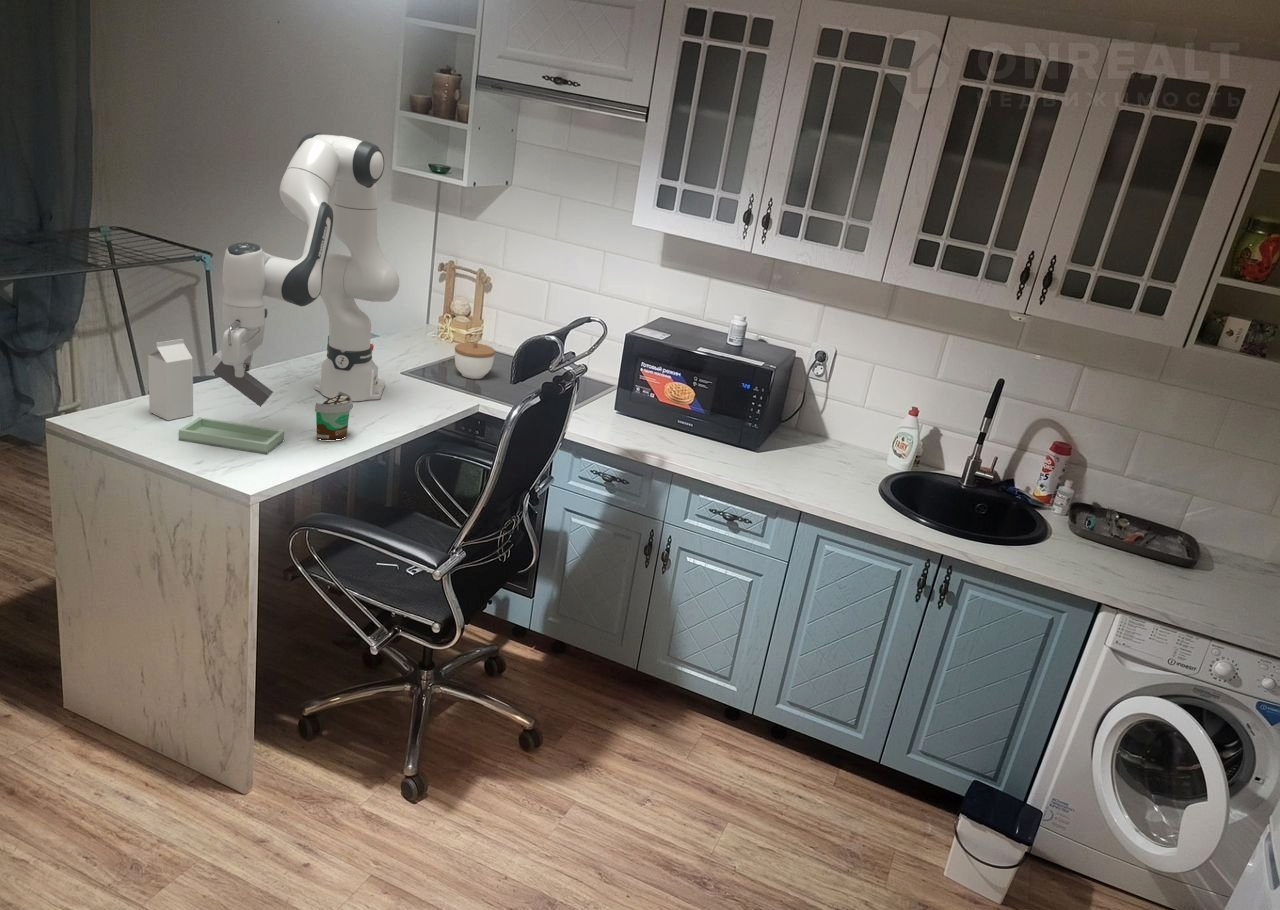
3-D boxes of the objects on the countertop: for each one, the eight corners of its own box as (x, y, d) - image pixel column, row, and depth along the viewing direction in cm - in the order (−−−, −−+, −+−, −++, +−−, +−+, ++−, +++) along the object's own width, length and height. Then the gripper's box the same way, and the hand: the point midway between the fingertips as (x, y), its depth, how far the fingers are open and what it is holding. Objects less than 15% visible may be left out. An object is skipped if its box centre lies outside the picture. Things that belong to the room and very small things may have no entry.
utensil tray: (199, 426, 233) (199, 417, 232) (284, 440, 233) (284, 430, 232) (178, 440, 224) (178, 430, 223) (267, 454, 224) (267, 444, 223)
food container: (336, 447, 234) (338, 408, 231) (313, 441, 235) (315, 403, 232) (360, 432, 246) (362, 395, 242) (338, 427, 247) (339, 390, 243)
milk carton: (193, 415, 239) (192, 342, 233) (167, 421, 233) (165, 346, 227) (175, 407, 242) (174, 335, 236) (149, 413, 236) (147, 339, 230)
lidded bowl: (445, 371, 306) (447, 337, 303) (478, 368, 315) (481, 336, 311) (466, 383, 298) (469, 349, 294) (499, 379, 307) (503, 346, 303)
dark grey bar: (264, 402, 227) (274, 391, 226) (260, 407, 224) (269, 395, 223) (210, 361, 223) (219, 350, 222) (205, 366, 219) (214, 354, 218)
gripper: (244, 328, 208) (243, 388, 213) (269, 307, 227) (268, 363, 232) (214, 324, 208) (214, 384, 212) (242, 304, 227) (241, 360, 231)
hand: (242, 373), depth 222 cm, fingers closed on dark grey bar, 3 cm apart
